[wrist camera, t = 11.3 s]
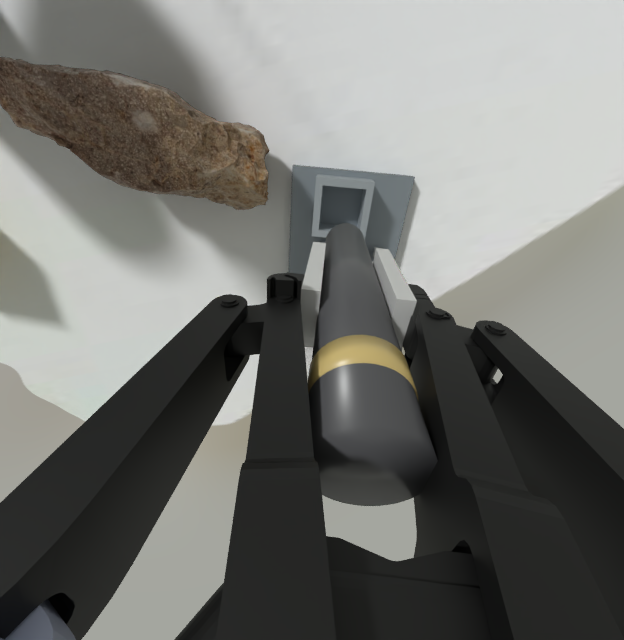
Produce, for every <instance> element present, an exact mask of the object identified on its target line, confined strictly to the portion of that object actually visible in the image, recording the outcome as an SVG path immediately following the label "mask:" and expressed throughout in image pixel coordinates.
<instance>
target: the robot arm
mask: <svg viewBox="0 0 624 640" xmlns="http://www.w3.org/2000/svg"><path fill="white" fill-rule="evenodd" d="M325 247H326V243H320V242H313V244H312V248H311V252H310V256H309V260H308V264H307V268H306V272H305V274H297V273H286V274H285V273H283V274H274V275H271V276H269V277H268V279H267V303H265V304H261V305H253V306H247V301H246V299H245V298H243V297H241V296H237V295H231V294H230V295H223V296H220V297H217V298H215V299H214V300H212V301H211V302H210V303H209V304H208V305H207V306H206V307H205V308H204V309H203V310H202V311H201V312H200V313H199V314H198V315H197V316H196V317H195V318H194V319H193V320H191V321H190V322H189V323H188V324H187V325H186V326H185V327H184V328H183V329H182V330H181V331H180V332H179V333H178V334H177V335H176V336H175V337H174V338H173V339H172V340H171V341H170V342H168V343H167V344H166V345H165V346H164V347H163V348H162V349H161V350H160V351H159V352H158V353H157V354H156V355H155V356H154V357H153V358H152V359H151V360H150V361H149V362H148V363H146V364H145V365H144V366H143V367H142V368H141V369H140V370H139V371H138V372H137V373H136V374H135V375H134V376H133V377H132V378H131V379H130V380H129V381H128V382H127V383H126V384H124V385H123V386H122V387H121V388H120V389H119V390H118V391H117V392H116V393H115V394H114V395H113V396H112V397H111V398H110V399H109V400H108V401H107V402H106V403H105V404H104V405H102V406H101V407H100V408H99V409H98V410H97V411H96V412H95V413H94V414H93V415H92V416H91V417H90V418H89V419H88V420H87V421H86V422H85V423H84V424H83V425H82V426H80V427H79V428H78V429H77V430H76V431H75V432H74V433H73V434H72V435H71V436H70V437H69V438H68V439H67V440H66V441H65V442H64V443H63V444H62V445H61V446H60V447H59V448H57V449H56V450H55V451H54V452H53V453H52V454H51V455H50V456H49V457H48V458H47V459H46V460H45V461H44V462H43V463H42V464H41V465H40V466H39V467H38V468H37V469H35V470H34V471H33V472H32V473H31V474H30V475H29V476H28V477H27V478H26V479H25V480H24V481H23V482H22V483H21V484H20V485H19V486H18V487H17V488H16V489H15V490H13V491H12V492H11V493H10V494H9V495H8V496H7V497H6V498H5V499H4V500H3V501H2V502H1V503H0V640H81V639H82V638H83V637H84V635H85V634H86V633H87V632H88V630H89V629H90V627H91V626H92V624H93V623H94V622H95V620H96V619H97V618H98V616H99V615H100V613H101V612H102V610H103V609H104V608H105V606H106V605H107V604H108V602H109V601H110V599H111V598H112V597H113V595H114V593H115V591H116V590H117V588H118V587H119V585H120V584H121V582H122V580H123V579H124V577H125V575H126V574H127V572H128V571H129V569H130V567H131V566H132V564H133V562H134V561H135V559H136V557H137V555H138V553H139V552H140V550H141V548H142V546H143V544H144V543H145V541H146V539H147V538H148V536H149V534H150V532H151V531H152V528H153V527H154V525H155V524H156V522H157V520H158V518H159V517H160V515H161V513H162V511H163V510H164V508H165V506H166V504H167V502H168V501H169V499H170V497H171V495H172V494H173V492H174V490H175V488H176V487H177V485H178V483H179V481H180V480H181V478H182V476H183V474H184V473H185V471H186V469H187V467H188V466H189V464H190V462H191V460H192V458H193V457H194V455H195V453H196V451H197V450H198V448H199V446H200V444H201V443H202V441H203V439H204V437H205V436H206V434H207V432H208V430H209V429H210V427H211V425H212V423H213V422H214V420H215V418H216V416H217V415H218V413H219V411H220V409H221V408H222V406H223V404H224V402H225V400H226V399H227V397H228V395H229V393H230V392H231V390H232V388H233V386H234V385H235V383H236V381H237V379H238V378H239V376H240V374H241V372H242V371H243V369H244V367H245V365H246V364H247V362H248V360H249V357H250V355H253V354H260V356H259V364H258V371H257V379H256V386H255V394H254V401H253V409H252V417H251V424H250V432H249V439H248V447H247V454H246V460H245V462H244V463H243V464H242V467H241V471H240V477H239V483H238V490H237V497H236V503H235V510H234V517H233V525H232V531H231V538H230V545H229V552H228V559H227V566H226V572H225V579H224V583H223V584H222V585H221V586H220V587H219V588H218V590H217V591H216V592H215V593H214V594H213V595H212V597H211V598H210V599H209V600H208V601H207V602H206V604H205V605H204V606H203V607H202V608H201V610H200V611H199V612H198V613H197V614H196V615H195V616H194V618H193V619H192V620H191V621H190V622H189V623H188V625H187V626H186V627H185V628H184V629H183V630H182V632H181V633H180V634H179V635H178V636H177V637H176V639H175V640H624V429H623V428H622V427H621V426H620V425H619V424H618V423H616V422H615V421H614V420H613V419H612V418H611V417H610V416H609V415H607V414H606V413H605V412H604V411H603V410H602V409H601V408H599V407H598V406H597V405H596V404H595V403H594V402H593V401H592V400H590V399H589V398H588V397H587V396H586V395H585V394H584V393H582V392H581V391H580V390H579V389H578V388H577V387H576V386H575V385H573V384H572V383H571V382H570V381H569V380H568V379H567V378H565V377H564V376H563V375H562V374H561V373H560V372H559V371H558V370H556V369H555V368H554V367H553V366H552V365H551V364H550V363H548V362H547V361H546V360H545V359H544V358H543V357H542V356H540V355H539V354H538V353H537V352H536V351H535V350H534V349H533V348H531V347H530V346H529V345H528V344H527V343H526V342H524V341H523V340H522V339H521V338H520V337H519V336H518V335H517V334H516V333H514V332H513V331H512V330H511V329H509V328H508V327H506V326H503V325H502V324H501V323H498V322H497V323H496V322H495V321H479V322H477V323H476V325H475V327H474V329H469V328H465V327H461V326H458V325H456V323H455V321H454V318H453V317H452V315H450V314H449V313H448V312H446V311H444V310H442V309H438V308H435V306H434V305H433V303H432V302H431V300H430V298H429V297H428V296H427V294H426V292H425V291H424V290H423V289H422V288H421V287H419V286H418V285H412V284H407V282H406V280H405V278H404V276H403V274H402V273H401V271H400V269H399V267H398V265H397V263H396V262H395V260H394V258H393V256H392V254H391V252H390V251H389V249H380V248H376V250H375V255H374V260H373V266H374V269H375V273H376V276H377V279H378V282H379V285H380V288H381V291H382V294H383V297H384V300H385V303H386V306H387V309H388V312H389V315H390V318H391V321H392V324H393V327H394V330H395V333H396V336H397V339H398V342H399V345H400V348H401V351H402V347H404V350H405V355H404V357H405V359H406V361H407V364H408V367H409V370H410V372H411V375H412V378H413V381H414V384H415V387H416V390H417V394H418V402H419V405H420V408H421V411H422V414H423V417H424V420H425V424H426V427H427V430H428V433H429V436H430V439H431V442H432V445H433V448H434V451H435V454H436V457H437V460H438V461H437V463H436V465H435V467H434V469H433V471H432V473H431V474H430V476H429V478H428V480H427V482H426V484H425V486H424V487H423V489H422V491H421V493H420V494H419V495H417V496H415V497H414V504H415V514H416V526H417V542H416V547H415V554H414V558H411V559H407V560H403V561H391V560H388V559H386V558H384V557H381V556H379V555H377V554H374V553H372V552H370V551H368V550H365V549H363V548H361V547H359V546H356V545H354V544H352V543H350V542H347V541H345V540H343V539H340V538H336V537H328V536H326V532H325V522H324V512H323V502H322V491H321V481H320V473H319V467H318V463H317V461H315V459H314V452H313V441H312V429H311V418H310V406H309V394H308V383H307V371H306V359H305V348H304V347H314V338H315V329H316V321H317V317H318V314H319V304H320V295H321V285H322V276H323V266H324V257H325ZM497 369H499V370H500V371H501V372H502V374H503V376H502V378H501V379H500V381H499V382H498V383H496V382H495V381H494V380H493V379H492V378H493V376H494V375H495V373H496V371H497Z"/></svg>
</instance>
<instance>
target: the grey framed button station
mask: <svg viewBox="0 0 624 640" xmlns="http://www.w3.org/2000/svg"><path fill="white" fill-rule="evenodd" d="M414 178H415V177H413V176H406V175H396V174H385V173H374V172H364V171H353V170H343V169H332V168H321V167H311V166H300V165H293V172H292V199H291V226H290V252H289V273H297V274H305V272H306V268H307V264H308V260H309V256H310V252H311V248H312V244H313V242H320V243H325V241H326V237H327V234H328V233H329V231H330V230H331V229H332V228H333V227H335V226H336V225H339V224H342V223H349V224H353V225H355V226H356V227H358V228H359V229H360V230H361V232H362V234H363V236H364V239H365V242H366V245H367V248H368V251H369V254H370V257H371V260H372V263H373V260H374V255H375V250H376V248H380V249H389V251H390V252H391V254H392V256H393V258H394V260H395V256H396V252H397V248H398V244H399V240H400V236H401V232H402V228H403V224H404V219H405V215H406V211H407V207H408V203H409V199H410V195H411V191H412V187H413V182H414Z"/></svg>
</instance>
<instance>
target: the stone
mask: <svg viewBox="0 0 624 640" xmlns="http://www.w3.org/2000/svg"><path fill="white" fill-rule="evenodd" d="M0 104H1V106H2V107H3V109H4V110H5V111H6V112H7V113H8V114H9V115H10V117H11V118H12V120H13V122H14V123H15V124H16V126H17V127H20V128H23V129H28V130H30V131H31V132H33V133H35V134H38V135H41V136H45V137H48V138H50V139H52V140H54V141H56V143H57V144H58V145H59V146H63V147H66V148H68V149H70V150H71V151H72V152H73V153H74V154H76V155H77V156H78V157H79V158H80V159H82V160H83V161H84V162H85V163H86V164H87V165H88V166H90V167H91V168H92V169H93V170H94V171H96V172H97V173H99V174H100V175H102V176H103V177H106V178H108V179H110V180H112V181H114V182H116V183H117V184H120V185H122V186H125V187H130V188H133V189H136V190H139V191H148V192H152V193H157V194H176V195H182V196H192V197H196V198H204V197H206V198H208V199H209V200H211V201H212V202H216V203H220V204H223V203H225V204H226V205H228V206H232V207H233V208H235V209H236V210H244V209H250V208H253V207H255V206H257V205H265V203H266V201H267V200H268V198H267V195H268V192H267V188H268V186H267V183H268V171H267V170H266V167H265V161H264V159H265V155H266V154H267V153H268V152H269V149H268V147H267V145H266V143H265V139H264V136H263V135H262V133H261V132H260V131H259V130H256V129H255V128H254V127H252V126H250V125H243V124H241V123H228V122H219V121H217V120H215V119H214V118H212V117H210V116H207V115H205V114H203V113H202V112H200V111H198V110H196V109H195V108H193V107H192V106H190V105H189V104H188V103H187V102H185V101H184V100H182V99H181V98H180V96H179V95H178V94H177V93H175V92H173V91H171V90H169V89H167V88H165V87H162V86H159V85H155V84H150V83H148V82H147V81H143V80H138V79H135V78H132V77H129V76H125V75H123V74H120V73H114V72H111V71H107V70H106V71H97V70H92V69H79V68H69V67H63V66H61V65H34V64H30V63H28V62H26V61H23V60H21V59H16V60H14V59H11V58H6V57H0Z"/></svg>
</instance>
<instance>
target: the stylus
mask: <svg viewBox="0 0 624 640" xmlns="http://www.w3.org/2000/svg"><path fill="white" fill-rule="evenodd" d="M325 243H326V247H325V257H324V266H323V276H322V285H321V295H320V304H319V314H318V317H317V321H316V329H315V338H314V347H313V356H312V361H311V364H310V369H309V376H308V394H309V406H310V418H311V429H312V441H313V452H314V459H315V461H317V463H318V467H319V473H320V481H321V491H322V495H324V496H326V497H328V498H330V499H333V500H336V501H339V502H342V503H347V504H353V505H361V506H380V505H388V504H394V503H398V502H402V501H405V500H408V499H411V498H413V497H415V496H417V495H419V494H420V493H421V491H422V489H423V487H424V486H425V484H426V482H427V480H428V478H429V476H430V474H431V473H432V471H433V469H434V467H435V465H436V463H437V461H438V460H437V457H436V454H435V451H434V448H433V445H432V442H431V439H430V436H429V433H428V430H427V427H426V424H425V420H424V417H423V414H422V411H421V408H420V405H419V402H418V394H417V390H416V387H415V384H414V381H413V378H412V375H411V372H410V370H409V367H408V364H407V361H406V359H405V357H404V355H403V354H402V351H401V348H400V345H399V342H398V339H397V336H396V333H395V330H394V327H393V324H392V321H391V318H390V315H389V312H388V309H387V306H386V303H385V300H384V297H383V294H382V291H381V288H380V285H379V282H378V279H377V276H376V273H375V269H374V266H373V263H372V260H371V257H370V254H369V251H368V248H367V245H366V242H365V239H364V236H363V234H362V232H361V230H360V229H359V228H358V227H356V226H355V225H353V224H349V223H342V224H339V225H336V226H335V227H333V228H332V229H331V230H330V231H329V233H328V234H327V237H326V241H325Z"/></svg>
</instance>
